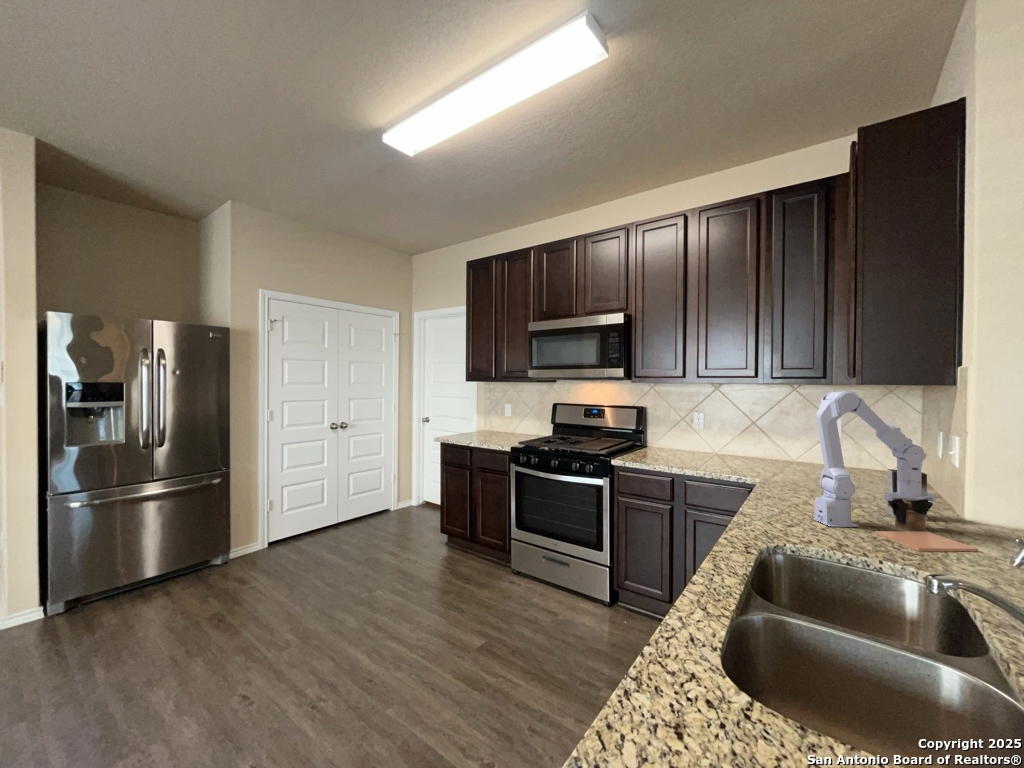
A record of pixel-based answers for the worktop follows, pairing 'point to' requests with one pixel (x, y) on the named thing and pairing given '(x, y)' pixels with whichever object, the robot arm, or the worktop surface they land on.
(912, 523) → the walnut cube
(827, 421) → the robot arm
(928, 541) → the terracotta tile
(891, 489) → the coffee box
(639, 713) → the worktop surface
